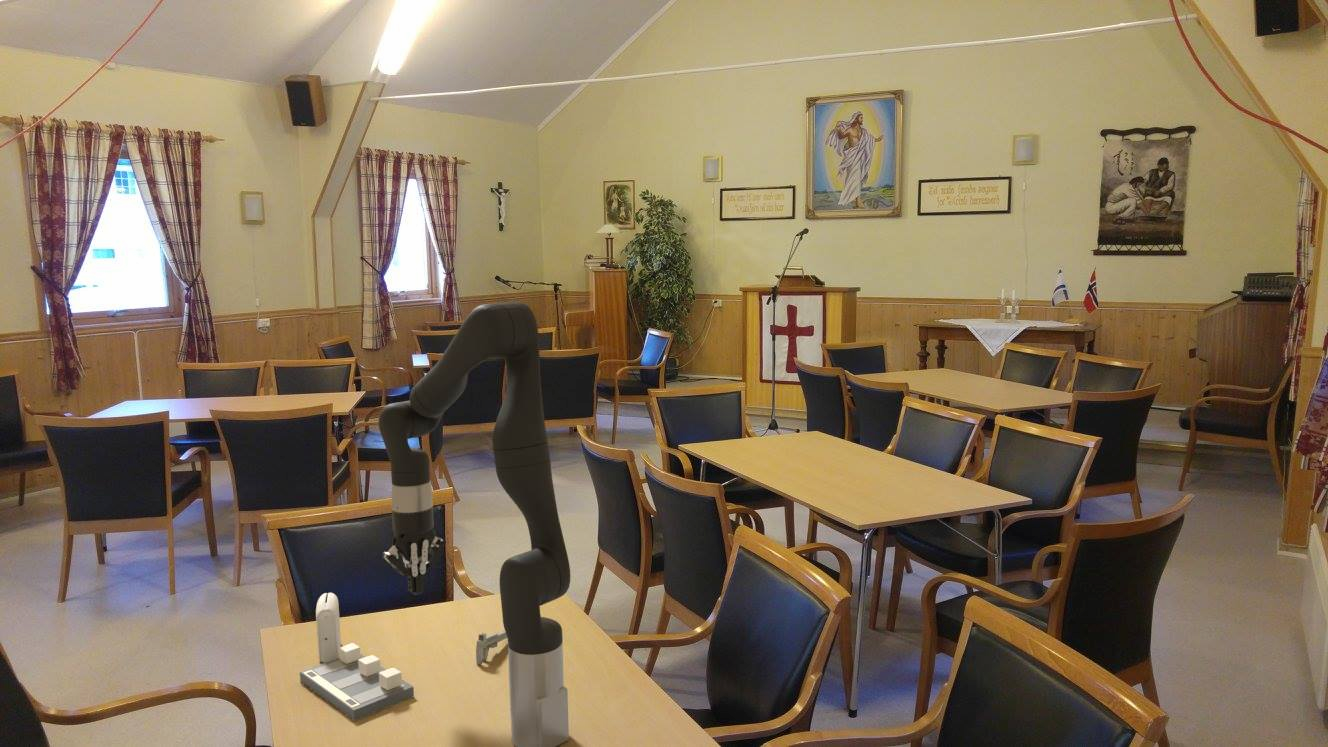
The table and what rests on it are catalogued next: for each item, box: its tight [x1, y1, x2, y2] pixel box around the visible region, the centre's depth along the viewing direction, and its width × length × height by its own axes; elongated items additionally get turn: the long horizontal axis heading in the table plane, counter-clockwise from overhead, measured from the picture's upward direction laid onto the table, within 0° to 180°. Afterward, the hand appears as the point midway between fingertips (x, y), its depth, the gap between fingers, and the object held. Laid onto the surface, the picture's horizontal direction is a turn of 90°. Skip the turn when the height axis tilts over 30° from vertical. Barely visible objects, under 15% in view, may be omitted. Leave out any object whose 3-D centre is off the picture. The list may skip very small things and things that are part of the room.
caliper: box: [475, 629, 508, 666], centre depth 192 cm, size 20×1×6 cm, turn 161°
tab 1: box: [339, 642, 361, 664], centre depth 181 cm, size 3×3×2 cm
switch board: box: [299, 653, 415, 721], centre depth 173 cm, size 22×12×2 cm, turn 46°
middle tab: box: [358, 654, 382, 677], centre depth 175 cm, size 3×3×2 cm
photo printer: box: [315, 592, 342, 664], centre depth 188 cm, size 10×4×12 cm, turn 17°
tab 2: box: [379, 667, 403, 690], centre depth 170 cm, size 3×3×2 cm
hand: (416, 592), depth 172 cm, fingers closed
